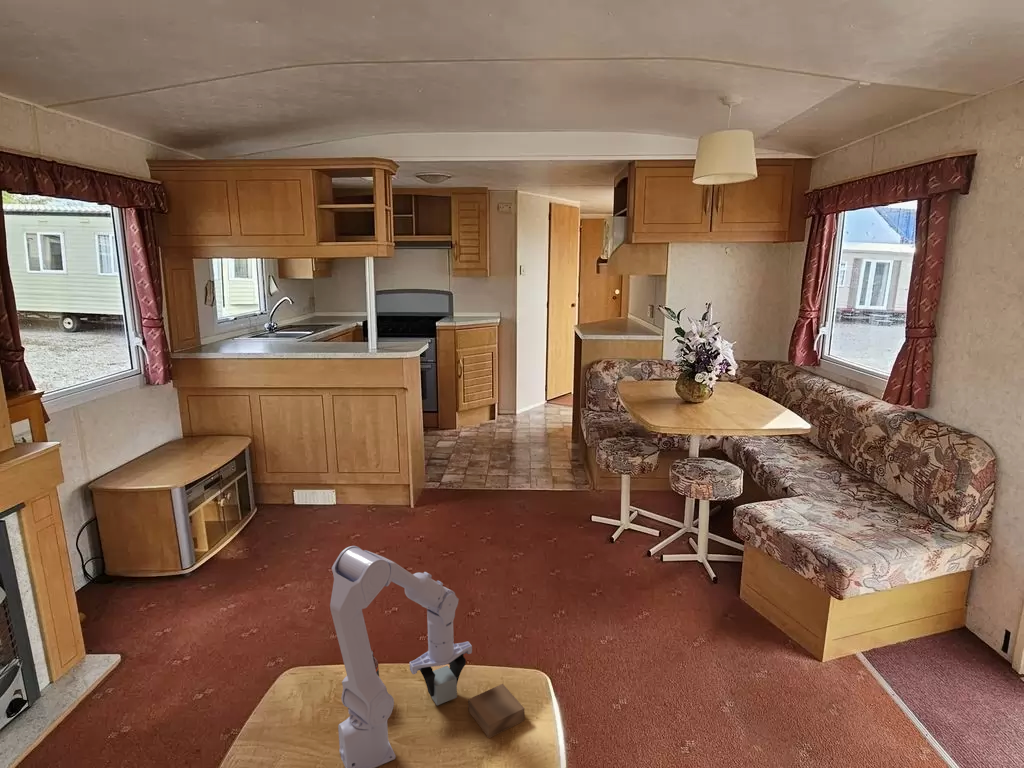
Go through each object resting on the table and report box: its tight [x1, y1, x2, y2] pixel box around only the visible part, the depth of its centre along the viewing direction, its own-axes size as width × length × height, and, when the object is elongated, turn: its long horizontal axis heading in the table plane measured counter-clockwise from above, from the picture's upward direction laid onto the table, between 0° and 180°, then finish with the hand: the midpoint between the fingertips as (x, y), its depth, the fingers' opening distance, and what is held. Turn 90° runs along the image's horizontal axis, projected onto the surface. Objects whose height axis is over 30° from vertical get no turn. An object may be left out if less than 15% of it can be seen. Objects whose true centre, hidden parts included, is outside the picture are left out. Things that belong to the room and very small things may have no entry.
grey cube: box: [431, 665, 458, 706], centre depth 134 cm, size 5×5×5 cm
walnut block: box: [467, 683, 525, 739], centre depth 129 cm, size 9×9×4 cm
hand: (442, 689), depth 135 cm, fingers closed on grey cube, 5 cm apart
